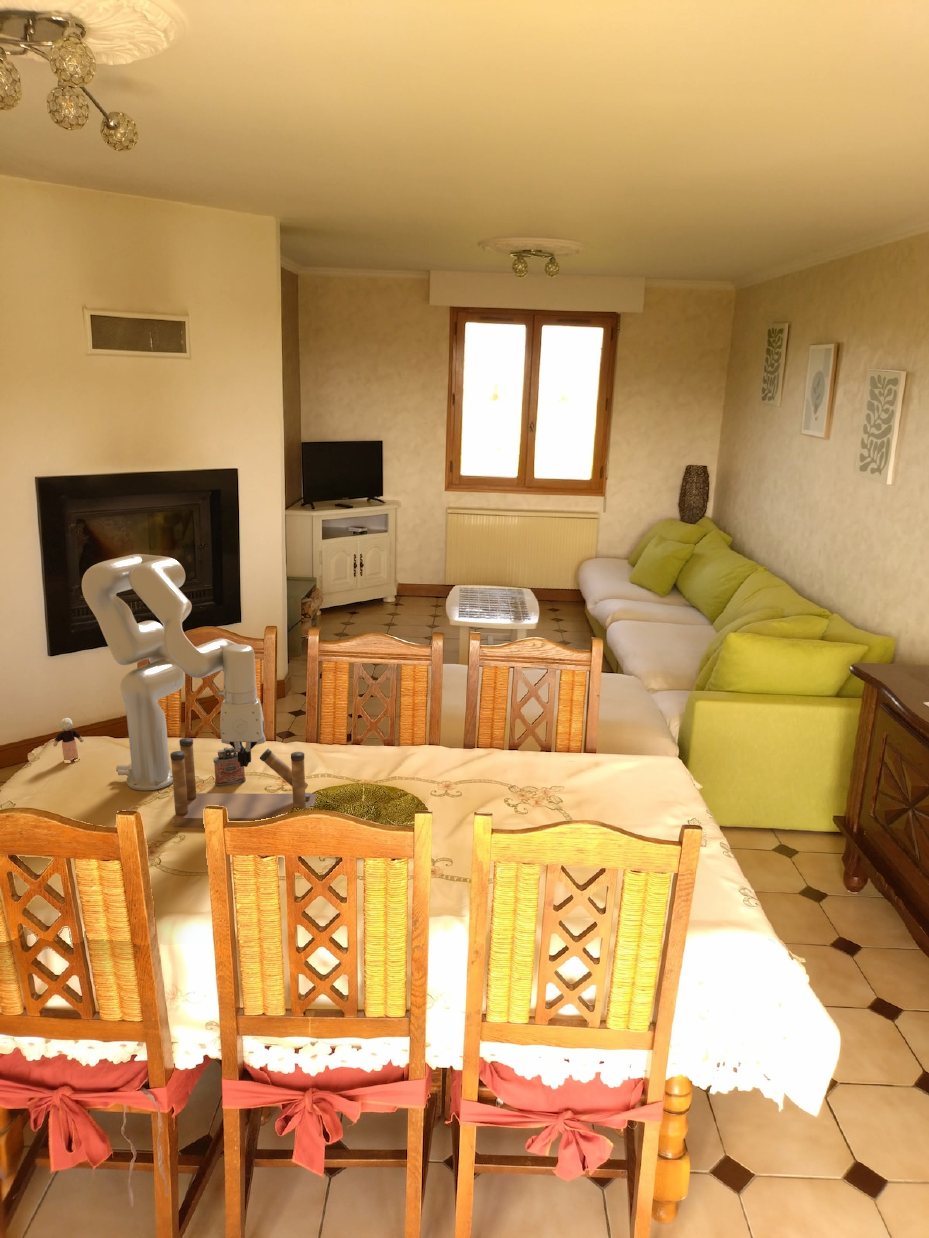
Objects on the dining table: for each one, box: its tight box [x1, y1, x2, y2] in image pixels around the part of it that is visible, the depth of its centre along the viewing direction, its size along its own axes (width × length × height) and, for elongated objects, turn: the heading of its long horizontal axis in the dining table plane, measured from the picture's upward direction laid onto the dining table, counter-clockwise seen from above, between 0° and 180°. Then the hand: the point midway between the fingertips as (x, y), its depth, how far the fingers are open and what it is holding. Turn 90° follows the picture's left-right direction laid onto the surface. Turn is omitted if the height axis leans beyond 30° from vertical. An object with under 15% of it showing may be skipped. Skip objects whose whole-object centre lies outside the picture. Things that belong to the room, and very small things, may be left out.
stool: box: [169, 737, 318, 828], centre depth 231 cm, size 33×13×18 cm, turn 91°
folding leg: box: [259, 748, 309, 790], centre depth 235 cm, size 14×3×3 cm
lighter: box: [213, 746, 246, 788], centre depth 249 cm, size 8×3×10 cm, turn 117°
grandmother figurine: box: [52, 717, 84, 761], centre depth 260 cm, size 8×4×13 cm, turn 133°
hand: (244, 764), depth 234 cm, fingers closed
